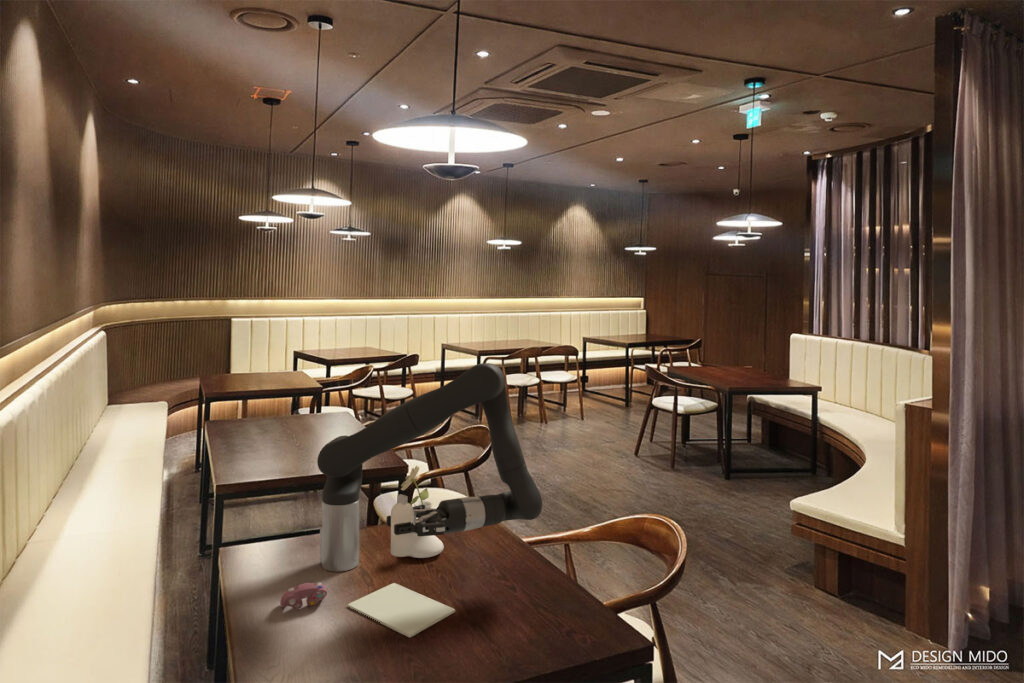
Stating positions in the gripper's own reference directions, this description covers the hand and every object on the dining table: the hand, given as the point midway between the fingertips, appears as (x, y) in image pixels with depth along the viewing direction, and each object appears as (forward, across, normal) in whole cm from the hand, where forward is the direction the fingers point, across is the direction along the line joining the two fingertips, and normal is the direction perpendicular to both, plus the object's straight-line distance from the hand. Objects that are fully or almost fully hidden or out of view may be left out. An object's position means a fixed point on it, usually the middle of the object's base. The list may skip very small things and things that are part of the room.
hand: (390, 525), depth 144 cm
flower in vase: (-17, -26, +20) cm, 37 cm away
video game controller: (+17, -10, +20) cm, 28 cm away
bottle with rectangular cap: (-3, 0, +6) cm, 7 cm away
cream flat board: (-3, 0, +20) cm, 20 cm away
